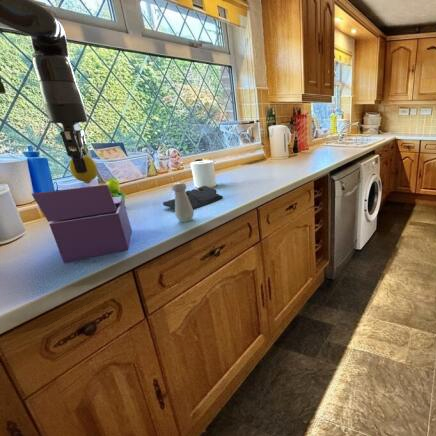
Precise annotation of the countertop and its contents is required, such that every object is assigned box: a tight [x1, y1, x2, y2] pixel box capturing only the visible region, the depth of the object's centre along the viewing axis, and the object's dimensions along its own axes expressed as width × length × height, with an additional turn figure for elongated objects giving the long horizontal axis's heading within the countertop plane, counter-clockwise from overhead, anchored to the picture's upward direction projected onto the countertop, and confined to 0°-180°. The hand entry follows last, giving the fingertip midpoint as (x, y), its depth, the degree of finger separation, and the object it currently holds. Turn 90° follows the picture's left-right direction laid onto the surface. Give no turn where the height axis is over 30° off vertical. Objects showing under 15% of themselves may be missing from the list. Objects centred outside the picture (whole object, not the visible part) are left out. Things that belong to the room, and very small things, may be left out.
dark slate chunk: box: [162, 186, 224, 210], centre depth 123 cm, size 15×22×5 cm
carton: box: [48, 196, 132, 264], centre depth 84 cm, size 17×14×11 cm
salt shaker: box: [171, 182, 195, 223], centre depth 101 cm, size 6×6×13 cm
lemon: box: [69, 155, 98, 185], centre depth 79 cm, size 6×6×8 cm
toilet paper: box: [190, 160, 218, 189], centre depth 150 cm, size 10×10×12 cm
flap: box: [31, 184, 117, 223], centre depth 72 cm, size 8×14×1 cm
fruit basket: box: [104, 177, 126, 205], centre depth 120 cm, size 11×9×11 cm
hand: (84, 170), depth 79 cm, fingers closed on lemon, 5 cm apart
